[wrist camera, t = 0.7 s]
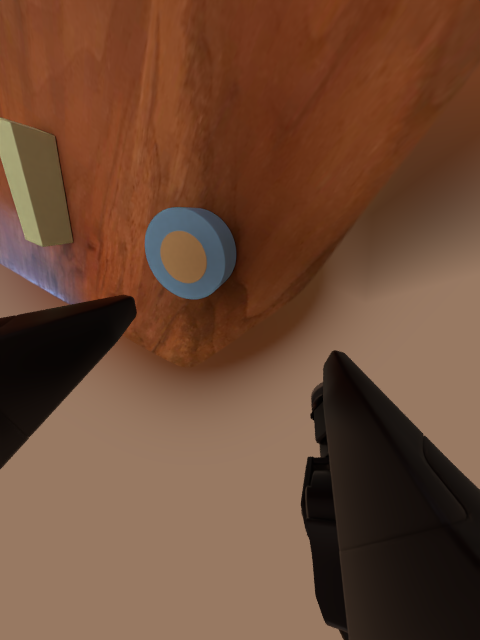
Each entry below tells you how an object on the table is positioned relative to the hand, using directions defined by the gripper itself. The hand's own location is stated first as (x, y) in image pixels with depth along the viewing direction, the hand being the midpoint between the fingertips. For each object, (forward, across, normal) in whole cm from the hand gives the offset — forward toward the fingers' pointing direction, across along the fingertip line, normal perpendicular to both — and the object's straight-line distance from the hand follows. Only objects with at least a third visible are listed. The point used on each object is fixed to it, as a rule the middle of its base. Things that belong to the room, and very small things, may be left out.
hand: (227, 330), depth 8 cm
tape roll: (+10, +6, 0) cm, 12 cm away
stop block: (+11, +21, -2) cm, 24 cm away
